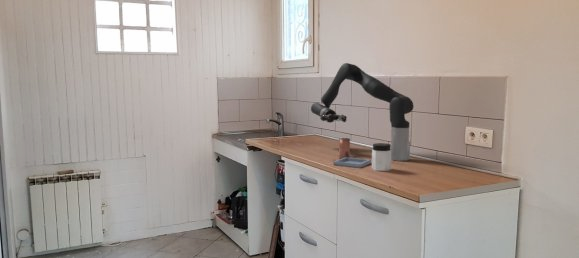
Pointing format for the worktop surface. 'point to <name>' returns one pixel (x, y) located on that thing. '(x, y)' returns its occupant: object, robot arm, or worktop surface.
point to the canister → (344, 148)
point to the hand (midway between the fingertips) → (337, 120)
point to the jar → (381, 157)
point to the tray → (352, 162)
